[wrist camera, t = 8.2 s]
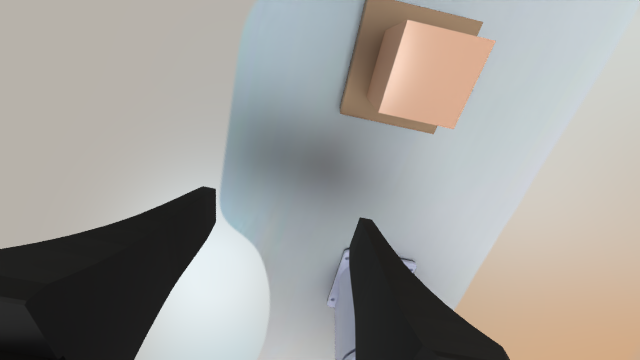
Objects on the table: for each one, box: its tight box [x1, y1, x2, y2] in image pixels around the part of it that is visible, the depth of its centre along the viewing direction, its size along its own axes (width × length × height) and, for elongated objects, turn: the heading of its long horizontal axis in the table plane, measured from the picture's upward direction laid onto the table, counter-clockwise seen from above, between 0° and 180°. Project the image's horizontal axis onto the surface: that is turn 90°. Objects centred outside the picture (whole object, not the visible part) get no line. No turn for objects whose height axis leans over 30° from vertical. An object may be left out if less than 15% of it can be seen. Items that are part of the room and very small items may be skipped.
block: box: [367, 20, 496, 129], centre depth 13 cm, size 4×4×5 cm
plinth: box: [340, 0, 483, 134], centre depth 17 cm, size 7×7×2 cm
